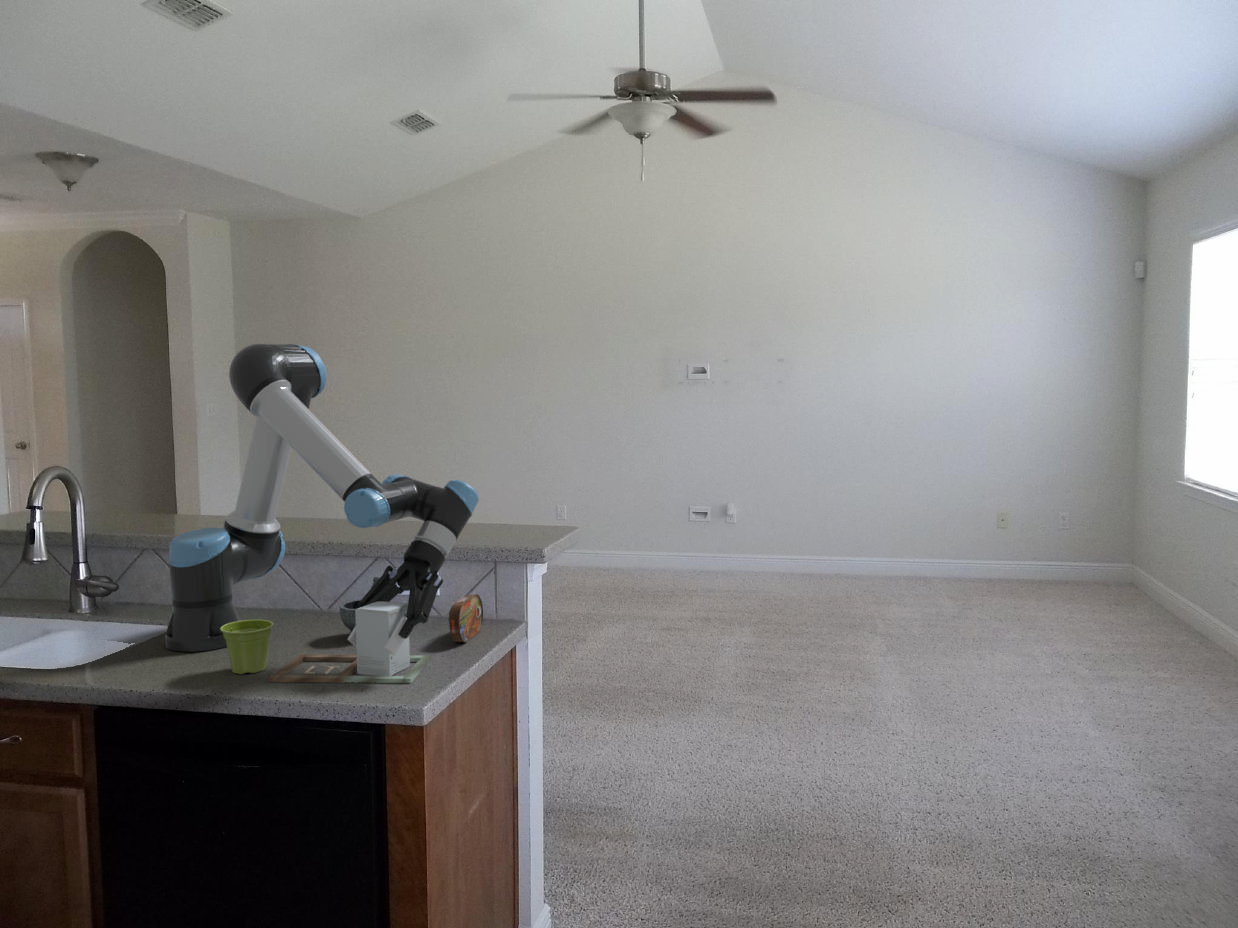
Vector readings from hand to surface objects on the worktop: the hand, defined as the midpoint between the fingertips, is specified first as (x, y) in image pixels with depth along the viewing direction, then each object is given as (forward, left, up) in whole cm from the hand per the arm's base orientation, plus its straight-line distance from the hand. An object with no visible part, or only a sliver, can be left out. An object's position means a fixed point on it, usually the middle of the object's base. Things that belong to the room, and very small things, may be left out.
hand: (370, 647), depth 178 cm
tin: (+12, +26, -6) cm, 29 cm away
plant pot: (-25, +3, -6) cm, 26 cm away
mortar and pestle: (-10, +27, -6) cm, 29 cm away
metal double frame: (-4, +3, -5) cm, 7 cm away
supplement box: (+1, +3, -6) cm, 7 cm away
